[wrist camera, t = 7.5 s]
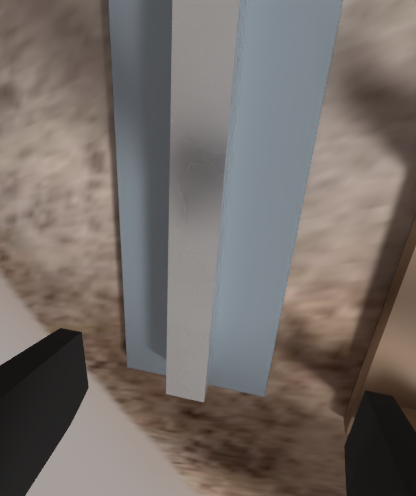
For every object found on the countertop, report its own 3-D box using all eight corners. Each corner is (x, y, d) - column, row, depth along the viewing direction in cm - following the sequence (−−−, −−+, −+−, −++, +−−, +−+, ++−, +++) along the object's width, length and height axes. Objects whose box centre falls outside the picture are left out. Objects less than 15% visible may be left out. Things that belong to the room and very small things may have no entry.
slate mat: (265, 388, 21) (264, 396, 20) (131, 359, 22) (127, 367, 21) (354, -67, 11) (357, -74, 11) (112, -72, 13) (104, -78, 12)
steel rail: (212, 372, 20) (204, 402, 18) (177, 365, 20) (165, 393, 19) (251, -33, 12) (243, -49, 10) (190, -36, 12) (173, -52, 10)
